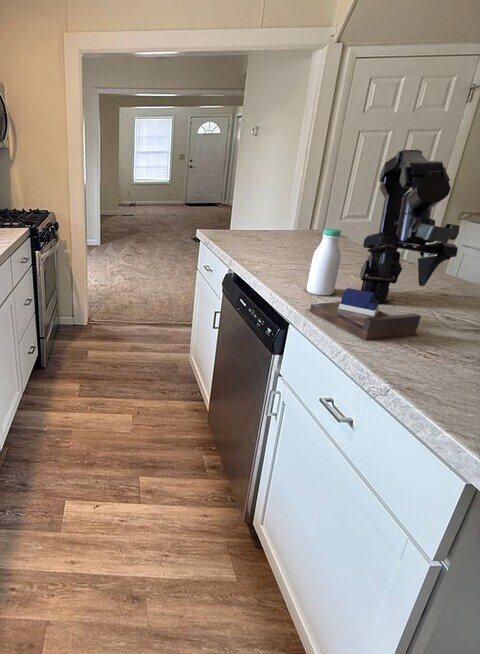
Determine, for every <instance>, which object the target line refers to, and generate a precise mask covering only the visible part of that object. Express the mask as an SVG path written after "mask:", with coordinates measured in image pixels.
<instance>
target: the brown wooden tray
mask: <svg viewBox="0 0 480 654" xmlns="http://www.w3.org/2000/svg"><path fill="white" fill-rule="evenodd" d="M340 303H341V301H334V302H321V303H320V302H319V303H311V304H310V308H309V311H310V312H312V313H313V314H315V315H317V316H319V317H321V318H322V319H325V320H326V321H329V322H330V323H332V324H334V325H336V326H338V327H340V328H342V329H343V330H345V331H347V332H349V333H351V334H353V335H355V336H357V337H359V338H361V339H362V340H364V341H369V340H376V339H386V338H387V339H388V338H396V337H397V338H398V337H405V336H416V335H417V330H418V327H419V324H420V321H421V317H422V315H420V314H417V313H407V314H397V315H395V314H394V315H390V314H387V313H384V312H382V311H380V310H378V312H377V314H376V315H375V316H370V315H366V314H361V313H356V312H352V311H347V310H342V309H339V304H340Z"/></svg>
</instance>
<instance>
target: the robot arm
mask: <svg viewBox="0 0 480 654" xmlns="http://www.w3.org/2000/svg"><path fill="white" fill-rule="evenodd" d="M450 180H451V178H450V176H449V174H448V172H447V169H446V166H444V163H443V161H442V160H441V161H440V160H428V159H427V158H426V157H425V156H424V155H423V150H420V149H401V150H399V151H398V152H397V153H396V155H395V156H394V157H392V158H390V159H388V160H387V161H385V162H384V165H383V166H382V168H381V170H380V174H379V177H378V182H379V183H380V187H379V190H380V192H381V194H382V196H383V197H384V201H383V207H382V211H381V217H380V223H379V229H378V232H377V233H373V234H368V235H367V236H366V237H365V238H364V240H363V245H362V248H364V249H367V252H368V253H370V254H369V255H368V256H367V259H366V260H365V261H364V262H363V265H362V266H361V269H360V271H359V278H360V281H362V284H361V289H360V290H361V291H367V292H372V293H375V294H374V297H373V299H374V300H379V303H378V304H383V303H390V299H388V295H389V292H390V285H391V284H394V285H395V284H396V283H397V282H398V279H399V276H400V274H401V272H402V270H403V268H402V263H401V262H400V261H401V253H400V251H398V249H400V250H404V251H405V250H406V251H411V252H418V253H419V255H420V257H418V258H417V273H418V274H417V277H418V279H417V280H418V286H419V287H424V286H426V284H427V283H428V281H429V279H430V278H431V276H432V275H433V273H434V271H435V270H436V269H437V268H438V267H439V265H440V264H442V263H443V262H444V261H448V260H450V259H452V258H457V255H458V249H459V248H458V246H457V245H456V244H453V243H448V242H449V240H451V241H454V240H456V239H458V236H459V233H460V225H458V224H453V223H446V224H444V225H443V226H439V225H436V219H433V218H431V215H432V211H433V208H434V207H435V206H437V205H438V204H440V203H441V202H442V201H443V200H445V199H446V198H447V197H448V196H449V194H450V192H451V184H450ZM410 189H411V190H410Z"/></svg>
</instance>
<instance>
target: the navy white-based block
mask: <svg viewBox="0 0 480 654" xmlns="http://www.w3.org/2000/svg"><path fill="white" fill-rule="evenodd" d="M374 294H375V293H372V292H367V291H361V289H356V288H350V287H347V288H346V289H344V290H343V291H342V296H341V300H340V302H341V303H340V304H339V309H342V310H347V311H352V312H356V313H361V314H366V315H370V316H375V315H376V314H377V312H378V311H380V306H379V304H380V303H379V300H374V299H373V297H374Z"/></svg>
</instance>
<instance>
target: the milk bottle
mask: <svg viewBox="0 0 480 654" xmlns="http://www.w3.org/2000/svg"><path fill="white" fill-rule="evenodd" d="M341 232H342V230H341V229H338V228H324V229H323V232H322V240H321V242H320V244H319V245H318V247H317V248H316V249H315V251H314V253H313V255H312V260H311V264H310V269H309V273H308V274H309V275H308V279H307V280H308V281H307V284H306V291H307V292H308V293H310V294H313V295H316V296H331V295H333V293H334V292H335V287H336V283H337V280H338V278H337V277H338V273H339V268H340V264H341V257H342V255H341V250H340V246H339V238H340V237H341Z"/></svg>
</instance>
